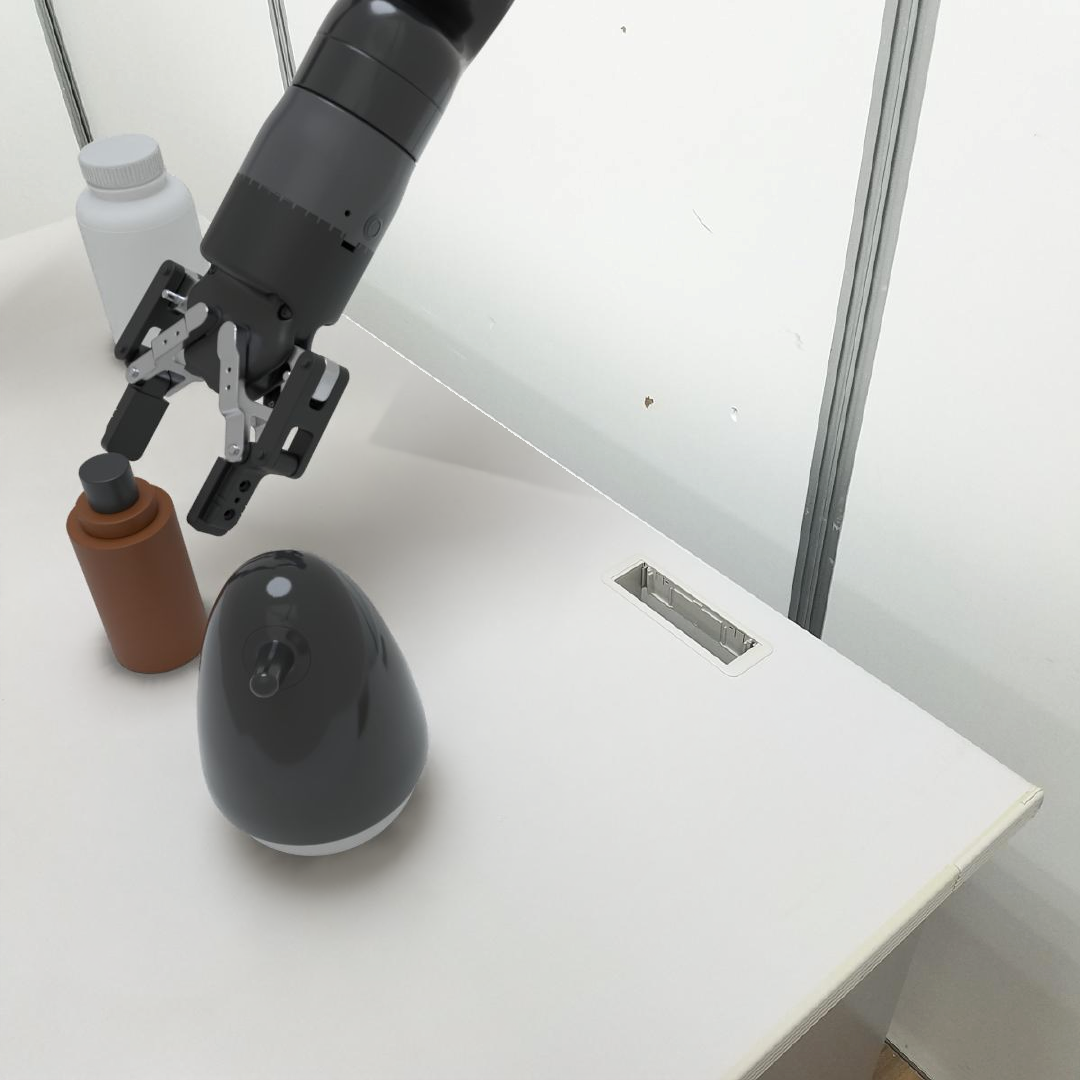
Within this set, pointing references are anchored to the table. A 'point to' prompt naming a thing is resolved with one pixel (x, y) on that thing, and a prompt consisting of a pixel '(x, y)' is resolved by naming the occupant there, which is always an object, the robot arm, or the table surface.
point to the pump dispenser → (306, 708)
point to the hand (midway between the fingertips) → (159, 491)
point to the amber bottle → (136, 566)
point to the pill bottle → (133, 222)
